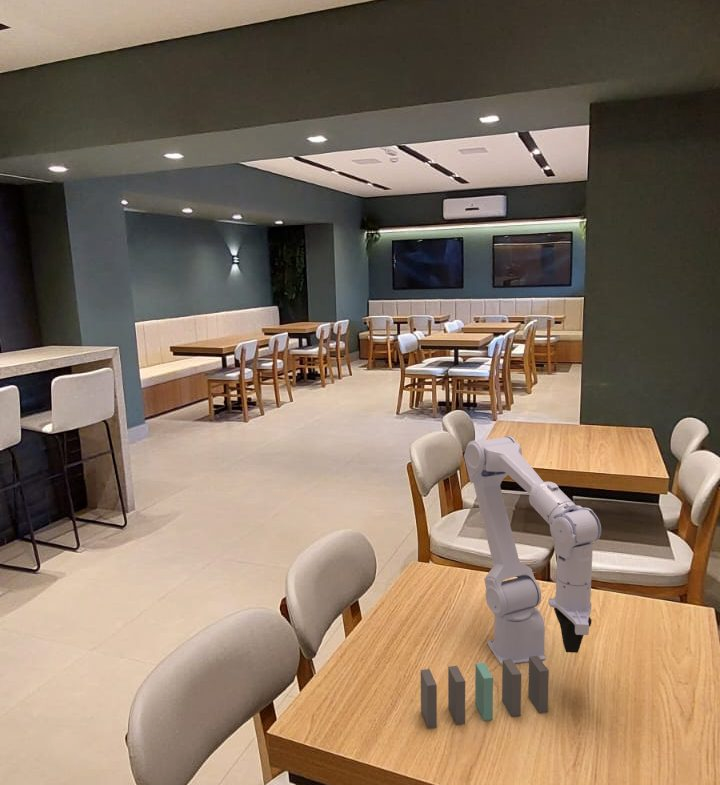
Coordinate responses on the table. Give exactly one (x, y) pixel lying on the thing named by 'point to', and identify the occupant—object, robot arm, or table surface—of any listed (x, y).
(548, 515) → the robot arm
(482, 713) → the teal domino
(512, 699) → the domino
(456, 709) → the domino
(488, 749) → the table surface
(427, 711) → the domino
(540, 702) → the domino
